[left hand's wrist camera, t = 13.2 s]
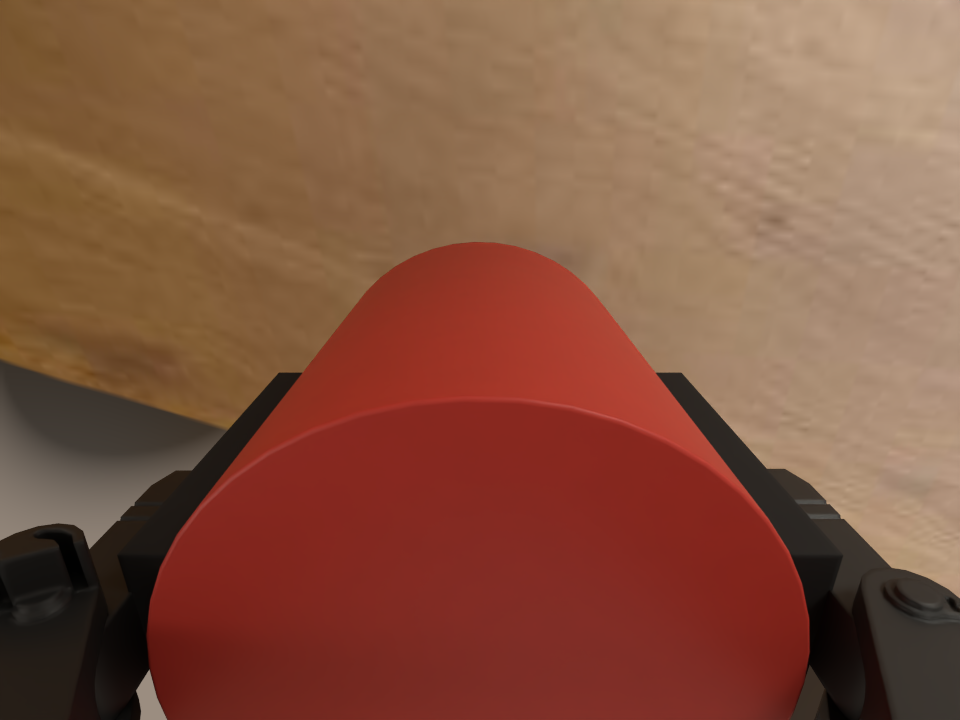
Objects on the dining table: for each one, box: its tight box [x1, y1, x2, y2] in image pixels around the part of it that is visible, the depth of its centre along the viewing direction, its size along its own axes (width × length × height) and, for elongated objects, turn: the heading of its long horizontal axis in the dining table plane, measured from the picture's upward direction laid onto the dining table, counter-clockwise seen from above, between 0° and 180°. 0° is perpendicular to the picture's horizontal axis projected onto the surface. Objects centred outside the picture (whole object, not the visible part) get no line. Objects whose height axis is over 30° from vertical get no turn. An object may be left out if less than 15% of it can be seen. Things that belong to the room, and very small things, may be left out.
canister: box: [146, 242, 810, 720], centre depth 12 cm, size 9×9×10 cm
